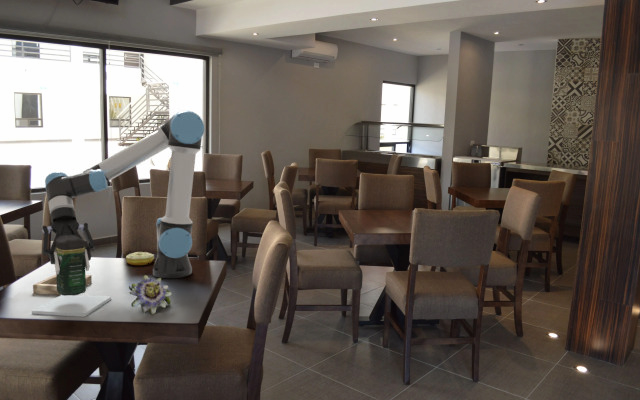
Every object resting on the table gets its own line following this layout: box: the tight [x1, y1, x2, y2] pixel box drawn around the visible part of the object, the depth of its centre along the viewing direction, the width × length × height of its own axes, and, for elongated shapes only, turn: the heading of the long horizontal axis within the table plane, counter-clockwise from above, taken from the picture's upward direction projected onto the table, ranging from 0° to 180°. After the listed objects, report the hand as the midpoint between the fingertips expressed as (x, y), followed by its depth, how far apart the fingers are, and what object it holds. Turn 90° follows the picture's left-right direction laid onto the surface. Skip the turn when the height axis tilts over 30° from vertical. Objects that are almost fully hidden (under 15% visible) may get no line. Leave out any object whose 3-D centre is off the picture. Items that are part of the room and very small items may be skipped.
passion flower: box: [128, 274, 173, 315], centre depth 167 cm, size 13×12×14 cm
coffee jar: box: [55, 235, 87, 296], centre depth 166 cm, size 10×8×19 cm
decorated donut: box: [125, 251, 155, 266], centre depth 225 cm, size 11×12×4 cm
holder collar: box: [32, 273, 92, 296], centre depth 187 cm, size 13×15×3 cm
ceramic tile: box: [31, 294, 112, 318], centre depth 168 cm, size 17×17×1 cm
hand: (73, 270), depth 164 cm, fingers closed on coffee jar, 8 cm apart
